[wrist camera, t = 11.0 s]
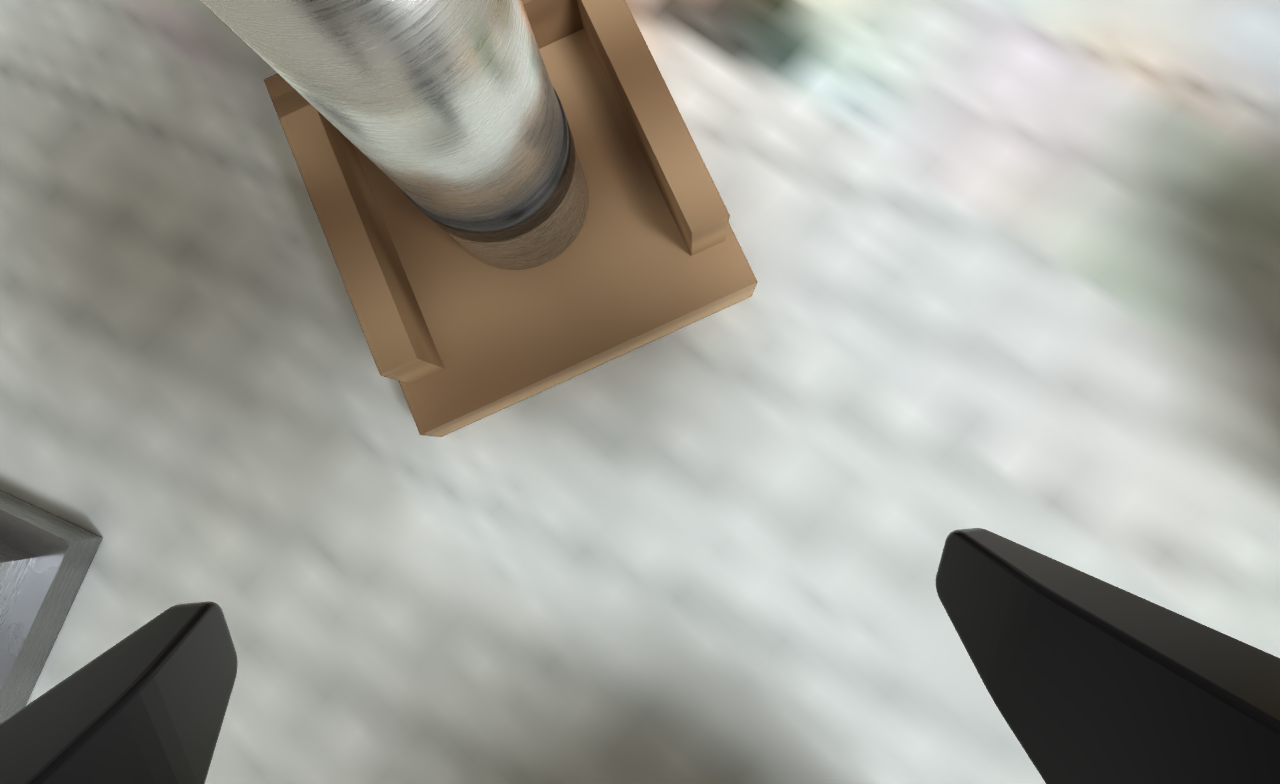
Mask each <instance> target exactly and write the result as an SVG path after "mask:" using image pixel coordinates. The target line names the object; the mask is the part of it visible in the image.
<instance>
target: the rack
mask: <svg viewBox="0 0 1280 784" xmlns="http://www.w3.org/2000/svg"><path fill="white" fill-rule="evenodd" d="M522 3H523V6H524V9H525V11H526V14H527V17H528V20H529V22H530V25H531V28H532V31H533V33H534V36H535V39H536V42H537V44H538V47H539V50H540V53H541V55H542V58H543V61H544V64H545V66H546V69H547V72H548V75H549V78H550V80H551V83H552V86H553V88H554V89H555V91H556V93H557V95H558V97H559V99H560V101H561V104H562V107H563V110H564V112H565V115H566V118H567V121H568V124H569V127H570V129H571V133H572V136H573V139H574V145H575V149H576V152H577V155H578V157H579V160H580V163H581V166H582V168H583V171H584V174H585V177H586V180H587V185H588V191H589V203H588V211H587V215H586V219H585V221H584V224H583V226H582V228H581V230H580V232H579V234H578V236H577V237H576V238H575V240H574V241H573V243H572V244H571V245H570V246H569V247H568V248H567V249H566V250H565V251H564V252H562V253H561V254H560V255H559V256H557V257H556V258H554V259H553V260H551V261H549V262H547V263H545V264H543V265H540V266H537V267H534V268H530V269H524V270H505V269H500V268H496V267H493V266H490V265H487V264H485V263H483V262H481V261H479V260H478V259H477V258H475V257H474V256H472V255H471V254H470V253H469V252H468V251H467V250H466V249H465V248H464V247H462V246H461V245H460V244H459V243H458V242H457V241H456V240H455V239H454V238H453V237H452V236H451V235H450V234H449V233H448V232H446V231H444V230H443V229H442V228H440V227H439V226H437V225H436V224H435V223H434V222H433V221H432V220H431V219H430V218H429V217H427V216H426V215H425V214H424V213H423V212H422V211H421V210H420V209H419V208H418V207H417V206H416V205H415V204H413V203H412V202H411V201H410V200H409V199H408V198H407V197H406V195H405V194H404V193H403V192H402V191H401V189H400V188H399V186H398V185H396V184H395V183H394V182H393V181H392V180H391V179H390V178H389V177H388V176H387V175H386V174H385V173H384V172H383V171H382V170H380V169H379V168H378V167H377V166H376V165H375V164H374V163H373V162H372V161H371V160H370V159H369V158H368V157H367V156H366V155H364V154H363V153H362V152H361V151H360V150H359V149H358V148H357V147H356V146H355V145H354V144H353V143H352V142H351V141H350V140H349V139H347V138H346V137H345V136H344V135H343V134H342V133H341V132H340V131H339V130H338V129H337V128H336V127H335V126H334V125H333V124H331V123H330V122H329V121H328V120H327V119H326V118H325V117H324V116H323V115H322V114H321V113H320V112H319V111H318V110H317V109H315V108H314V107H313V106H312V105H311V104H310V103H309V102H308V101H307V100H306V99H305V98H304V97H303V96H302V95H301V94H299V93H298V92H297V91H296V90H295V89H294V88H293V87H292V86H291V85H290V84H289V83H288V82H287V81H286V80H285V79H284V78H282V77H281V76H280V75H279V74H278V73H277V74H275V75H273V76H271V77H269V78H267V79H265V80H264V81H265V84H266V87H267V89H268V92H269V94H270V97H271V99H272V102H273V104H274V107H275V109H276V112H277V114H278V117H279V120H280V122H281V125H282V127H283V130H284V132H285V135H286V137H287V140H288V142H289V145H290V147H291V150H292V153H293V155H294V158H295V160H296V163H297V165H298V168H299V170H300V173H301V175H302V178H303V180H304V183H305V185H306V188H307V191H308V193H309V196H310V198H311V201H312V203H313V206H314V208H315V211H316V213H317V216H318V218H319V221H320V224H321V226H322V229H323V231H324V234H325V236H326V239H327V241H328V244H329V246H330V249H331V251H332V254H333V257H334V259H335V262H336V264H337V267H338V269H339V272H340V274H341V277H342V279H343V282H344V284H345V287H346V289H347V292H348V295H349V297H350V300H351V302H352V305H353V307H354V310H355V312H356V315H357V317H358V320H359V322H360V325H361V328H362V330H363V333H364V335H365V338H366V340H367V343H368V345H369V348H370V350H371V353H372V355H373V358H374V361H375V363H376V366H377V368H378V371H379V373H380V375H381V376H385V377H388V378H392V379H396V380H399V383H400V385H401V388H402V390H403V393H404V395H405V398H406V400H407V403H408V405H409V408H410V410H411V413H412V415H413V418H414V420H415V423H416V426H417V428H418V431H419V433H420V435H426V436H437V437H442V436H444V435H447V434H449V433H451V432H453V431H455V430H458V429H460V428H462V427H464V426H466V425H469V424H471V423H473V422H475V421H477V420H480V419H482V418H484V417H486V416H488V415H491V414H493V413H495V412H497V411H499V410H502V409H504V408H506V407H508V406H510V405H513V404H515V403H517V402H519V401H521V400H524V399H526V398H528V397H530V396H533V395H535V394H537V393H539V392H541V391H544V390H546V389H548V388H550V387H552V386H555V385H557V384H559V383H561V382H563V381H566V380H568V379H570V378H572V377H574V376H577V375H579V374H581V373H583V372H585V371H588V370H590V369H592V368H594V367H596V366H599V365H601V364H603V363H605V362H607V361H610V360H612V359H614V358H616V357H618V356H621V355H623V354H625V353H627V352H630V351H632V350H634V349H636V348H638V347H641V346H643V345H645V344H647V343H649V342H652V341H654V340H656V339H658V338H660V337H663V336H665V335H667V334H669V333H671V332H674V331H676V330H678V329H680V328H682V327H685V326H687V325H689V324H691V323H693V322H696V321H698V320H700V319H702V318H704V317H707V316H709V315H711V314H713V313H715V312H718V311H720V310H722V309H724V308H727V307H729V306H731V305H733V304H735V303H738V302H740V301H742V300H744V299H746V298H749V297H751V296H752V294H753V292H754V289H755V287H756V284H757V280H756V278H755V276H754V274H753V272H752V270H751V268H750V266H749V263H748V261H747V259H746V257H745V255H744V253H743V251H742V249H741V247H740V245H739V243H738V241H737V239H736V237H735V235H734V233H733V231H732V228H731V226H730V224H729V217H730V215H729V213H728V211H727V209H726V207H725V205H724V203H723V201H722V199H721V197H720V195H719V192H718V190H717V188H716V186H715V184H714V182H713V180H712V178H711V176H710V174H709V172H708V170H707V168H706V166H705V164H704V162H703V160H702V158H701V155H700V153H699V151H698V149H697V147H696V145H695V143H694V141H693V139H692V137H691V135H690V133H689V131H688V129H687V127H686V125H685V123H684V121H683V118H682V116H681V114H680V112H679V110H678V108H677V106H676V104H675V102H674V100H673V98H672V96H671V94H670V92H669V90H668V88H667V86H666V84H665V81H664V79H663V77H662V75H661V73H660V71H659V69H658V67H657V65H656V63H655V61H654V59H653V57H652V55H651V53H650V51H649V49H648V46H647V44H646V42H645V40H644V38H643V36H642V34H641V32H640V30H639V28H638V26H637V24H636V22H635V20H634V18H633V16H632V14H631V12H630V9H629V7H628V5H627V3H626V1H625V0H522Z"/></svg>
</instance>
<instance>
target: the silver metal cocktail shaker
mask: <svg viewBox="0 0 1280 784" xmlns="http://www.w3.org/2000/svg"><path fill="white" fill-rule="evenodd" d="M200 1H201V2H203V3H204V4H205V5H206V6H207V7H208V8H209V9H210V10H211V11H212V12H213V13H214V14H215V15H216V16H217V17H219V18H220V19H221V20H222V21H223V22H224V23H225V24H226V25H227V26H228V27H229V28H230V29H231V30H232V31H233V32H235V33H236V34H237V35H238V36H239V37H240V38H241V39H242V40H243V41H244V42H245V43H246V44H247V45H248V46H249V47H250V48H252V49H253V50H254V51H255V52H256V53H257V54H258V55H259V56H260V57H261V58H262V59H263V60H264V61H265V62H266V63H268V64H269V65H270V66H271V67H272V68H273V69H274V70H275V71H276V72H277V73H278V74H279V75H280V76H281V77H282V78H284V79H285V80H286V81H287V82H288V83H289V84H290V85H291V86H292V87H293V88H294V89H295V90H296V91H297V92H298V93H299V94H301V95H302V96H303V97H304V98H305V99H306V100H307V101H308V102H309V103H310V104H311V105H312V106H313V107H314V108H315V109H317V110H318V111H319V112H320V113H321V114H322V115H323V116H324V117H325V118H326V119H327V120H328V121H329V122H330V123H331V124H333V125H334V126H335V127H336V128H337V129H338V130H339V131H340V132H341V133H342V134H343V135H344V136H345V137H346V138H347V139H349V140H350V141H351V142H352V143H353V144H354V145H355V146H356V147H357V148H358V149H359V150H360V151H361V152H362V153H363V154H364V155H366V156H367V157H368V158H369V159H370V160H371V161H372V162H373V163H374V164H375V165H376V166H377V167H378V168H379V169H380V170H382V171H383V172H384V173H385V174H386V175H387V176H388V177H389V178H390V179H391V180H392V181H393V182H394V183H395V184H396V185H398V186H399V188H400V189H401V191H402V192H403V193H404V194H405V195H406V197H407V198H408V199H409V200H410V201H411V202H412V203H413V204H415V205H416V206H417V207H418V208H419V209H420V210H421V211H422V212H423V213H424V214H425V215H426V216H427V217H429V218H430V219H431V220H432V221H433V222H434V223H435V224H436V225H437V226H439V227H440V228H442V229H443V230H444V231H446V232H448V233H449V234H450V235H451V236H452V237H453V238H454V239H455V240H456V241H457V242H458V243H459V244H460V245H461V246H462V247H464V248H465V249H466V250H467V251H468V252H469V253H470V254H471V255H472V256H474V257H475V258H477V259H478V260H479V261H481V262H483V263H485V264H487V265H490V266H493V267H496V268H500V269H505V270H524V269H530V268H534V267H537V266H540V265H543V264H545V263H547V262H549V261H551V260H553V259H554V258H556V257H557V256H559V255H560V254H561V253H562V252H564V251H565V250H566V249H567V248H568V247H569V246H570V245H571V244H572V243H573V241H574V240H575V238H576V237H577V236H578V234H579V232H580V230H581V228H582V226H583V224H584V221H585V219H586V215H587V211H588V203H589V191H588V185H587V180H586V177H585V174H584V171H583V168H582V166H581V163H580V160H579V157H578V155H577V152H576V149H575V145H574V139H573V136H572V133H571V129H570V127H569V124H568V121H567V118H566V115H565V112H564V110H563V107H562V104H561V101H560V99H559V97H558V95H557V93H556V91H555V89H554V88H553V86H552V83H551V80H550V78H549V75H548V72H547V69H546V66H545V64H544V61H543V58H542V55H541V53H540V50H539V47H538V44H537V42H536V39H535V36H534V33H533V31H532V28H531V25H530V22H529V20H528V17H527V14H526V11H525V9H524V6H523V3H522V0H200Z"/></svg>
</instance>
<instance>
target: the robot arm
mask: <svg viewBox="0 0 1280 784" xmlns="http://www.w3.org/2000/svg"><path fill="white" fill-rule="evenodd" d="M936 589H937V593H938V596H939V598H940V600H941V602H942V604H943V606H944V608H945V610H946V612H947V614H948V616H949V618H950V620H951V621H952V623H953V625H954V627H955V629H956V631H957V633H958V635H959V637H960V639H961V641H962V643H963V644H964V646H965V648H966V650H967V652H968V654H969V656H970V658H971V660H972V662H973V664H974V665H975V667H976V669H977V671H978V673H979V675H980V677H981V679H982V681H983V683H984V685H985V686H986V688H987V690H988V692H989V694H990V695H991V697H992V699H993V701H994V702H995V704H996V706H997V707H998V709H999V711H1000V712H1001V714H1002V716H1003V717H1004V719H1005V720H1006V722H1007V724H1008V725H1009V727H1010V728H1011V730H1012V731H1013V733H1014V734H1015V736H1016V738H1017V739H1018V741H1019V742H1020V744H1021V745H1022V747H1023V748H1024V750H1025V752H1026V753H1027V755H1028V756H1029V758H1030V759H1031V761H1032V762H1033V764H1034V765H1035V767H1036V769H1037V770H1038V772H1039V773H1040V775H1041V776H1042V778H1043V779H1044V781H1045V783H1046V784H1280V658H1278V657H1275V656H1273V655H1271V654H1269V653H1266V652H1264V651H1262V650H1259V649H1257V648H1255V647H1253V646H1250V645H1248V644H1246V643H1243V642H1241V641H1239V640H1237V639H1234V638H1232V637H1230V636H1227V635H1225V634H1223V633H1221V632H1218V631H1216V630H1214V629H1211V628H1209V627H1207V626H1205V625H1202V624H1200V623H1198V622H1195V621H1193V620H1191V619H1189V618H1186V617H1184V616H1182V615H1180V614H1177V613H1175V612H1173V611H1170V610H1168V609H1166V608H1164V607H1161V606H1159V605H1157V604H1154V603H1152V602H1150V601H1148V600H1145V599H1143V598H1141V597H1138V596H1136V595H1134V594H1132V593H1129V592H1127V591H1125V590H1122V589H1120V588H1118V587H1116V586H1113V585H1111V584H1109V583H1106V582H1104V581H1102V580H1100V579H1097V578H1095V577H1093V576H1090V575H1088V574H1086V573H1084V572H1081V571H1079V570H1077V569H1074V568H1072V567H1070V566H1068V565H1065V564H1063V563H1061V562H1059V561H1056V560H1054V559H1052V558H1049V557H1047V556H1045V555H1043V554H1040V553H1038V552H1036V551H1033V550H1031V549H1029V548H1027V547H1024V546H1022V545H1020V544H1017V543H1015V542H1013V541H1011V540H1008V539H1006V538H1004V537H1001V536H999V535H997V534H995V533H992V532H990V531H988V530H985V529H981V528H972V529H962V530H955V531H953V532H951V533H950V534H949V535H948V537H947V539H946V541H945V545H944V549H943V553H942V557H941V560H940V564H939V568H938V572H937V575H936ZM236 674H237V655H236V651H235V648H234V645H233V642H232V639H231V636H230V633H229V629H228V626H227V623H226V620H225V617H224V614H223V612H222V609H221V608H220V606H219V605H218V604H216V603H214V602H199V603H188V604H180V605H175V606H173V607H171V608H169V609H167V610H166V611H164V612H163V613H161V614H160V615H159V616H157V617H156V618H154V619H153V620H151V621H150V622H148V623H147V624H145V625H144V626H142V627H141V628H140V629H138V630H137V631H135V632H134V633H132V634H131V635H129V636H128V637H126V638H125V639H123V640H122V641H121V642H119V643H118V644H116V645H115V646H113V647H112V648H110V649H109V650H107V651H106V652H104V653H103V654H102V655H100V656H99V657H97V658H96V659H94V660H93V661H91V662H90V663H88V664H87V665H85V666H84V667H83V668H81V669H80V670H78V671H77V672H75V673H74V674H72V675H71V676H69V677H68V678H66V679H65V680H64V681H62V682H61V683H59V684H58V685H56V686H55V687H53V688H52V689H50V690H49V691H47V692H46V693H45V694H43V695H42V696H40V697H39V698H37V699H36V700H34V701H33V702H31V703H30V704H28V705H27V706H26V707H24V708H23V709H21V710H20V711H18V712H17V713H15V714H14V715H12V716H11V717H9V718H8V719H7V720H5V721H4V722H2V723H1V724H0V784H205V780H206V777H207V774H208V770H209V767H210V763H211V760H212V757H213V753H214V750H215V746H216V743H217V740H218V736H219V733H220V729H221V726H222V723H223V719H224V716H225V712H226V709H227V706H228V702H229V699H230V695H231V692H232V689H233V685H234V682H235V678H236Z"/></svg>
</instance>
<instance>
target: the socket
mask: <svg viewBox="0 0 1280 784" xmlns="http://www.w3.org/2000/svg"><path fill="white" fill-rule="evenodd" d="M101 540H102V538H101V537H99V536H97V535H95V534H93V533H91V532H89V531H86V530H84V529H82V528H80V527H78V526H76V525H74V524H71V523H69V522H67V521H65V520H63V519H61V518H58V517H56V516H54V515H52V514H50V513H48V512H46V511H43V510H41V509H39V508H37V507H35V506H33V505H31V504H28V503H26V502H24V501H22V500H20V499H18V498H15V497H13V496H11V495H9V494H7V493H5V492H3V491H0V724H1V723H2V722H4V721H5V720H7V719H8V718H9V717H11V716H12V715H14V714H15V713H17V712H18V711H20V710H21V709H23V708H24V707H25V705H26V703H27V701H28V699H29V696H30V694H31V692H32V690H33V688H34V686H35V683H36V681H37V679H38V677H39V675H40V672H41V670H42V668H43V666H44V664H45V662H46V659H47V657H48V655H49V653H50V651H51V649H52V646H53V644H54V642H55V640H56V638H57V635H58V633H59V631H60V629H61V627H62V625H63V622H64V620H65V618H66V616H67V614H68V612H69V609H70V607H71V605H72V603H73V601H74V598H75V596H76V594H77V592H78V590H79V588H80V585H81V583H82V581H83V579H84V577H85V575H86V572H87V570H88V568H89V566H90V564H91V562H92V559H93V557H94V555H95V553H96V551H97V548H98V546H99V544H100V542H101Z"/></svg>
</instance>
